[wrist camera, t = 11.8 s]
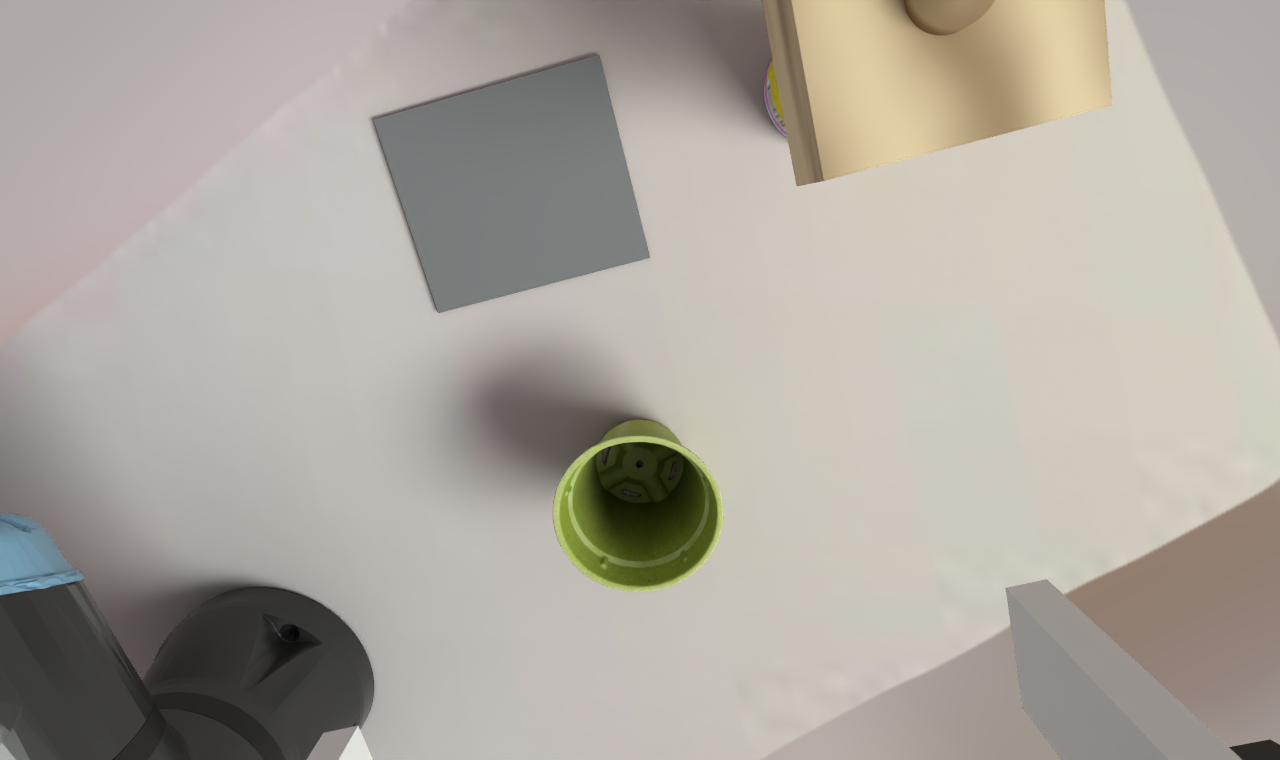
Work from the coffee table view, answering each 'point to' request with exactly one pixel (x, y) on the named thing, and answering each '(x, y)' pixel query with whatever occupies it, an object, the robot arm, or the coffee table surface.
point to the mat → (515, 184)
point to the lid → (927, 74)
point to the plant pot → (638, 510)
